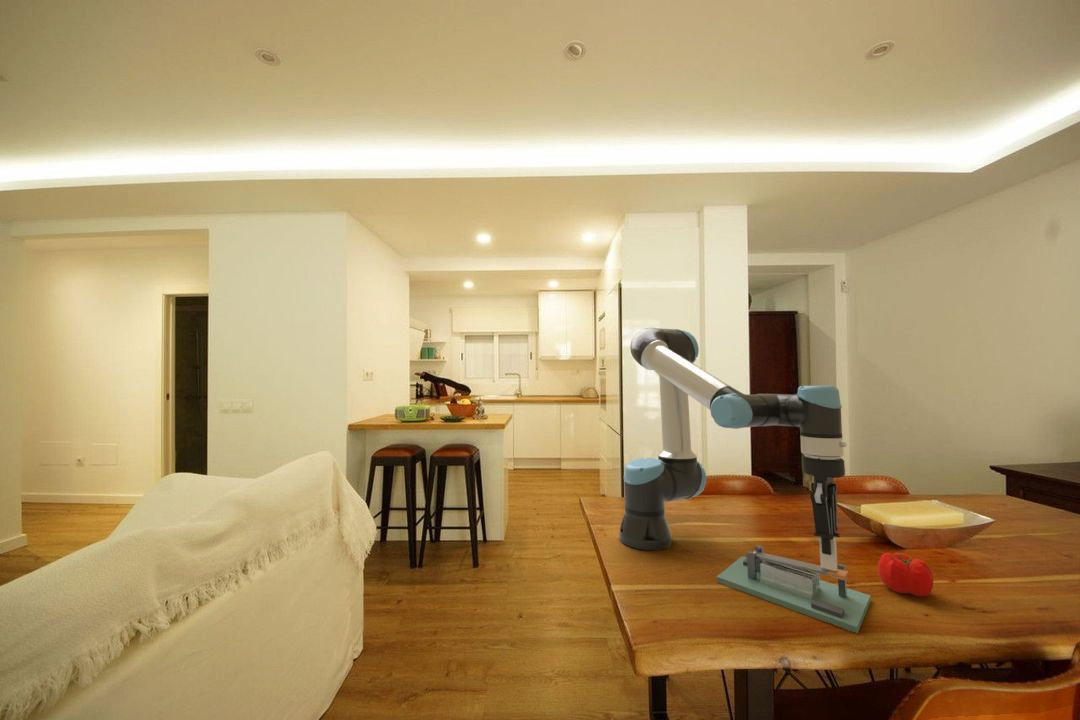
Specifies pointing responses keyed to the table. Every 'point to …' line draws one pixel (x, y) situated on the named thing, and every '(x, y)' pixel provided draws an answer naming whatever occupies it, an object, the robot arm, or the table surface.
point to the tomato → (905, 574)
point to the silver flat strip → (802, 565)
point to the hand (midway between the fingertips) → (829, 568)
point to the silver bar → (788, 577)
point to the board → (821, 607)
